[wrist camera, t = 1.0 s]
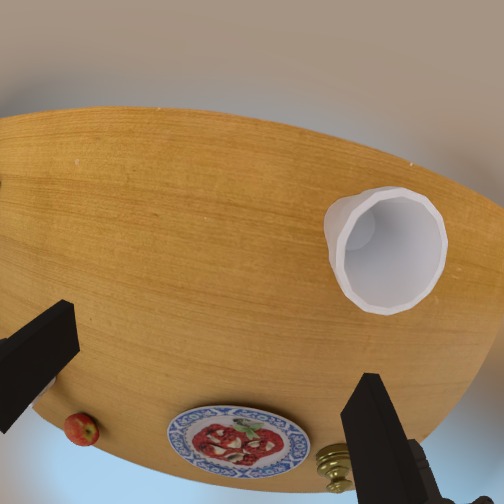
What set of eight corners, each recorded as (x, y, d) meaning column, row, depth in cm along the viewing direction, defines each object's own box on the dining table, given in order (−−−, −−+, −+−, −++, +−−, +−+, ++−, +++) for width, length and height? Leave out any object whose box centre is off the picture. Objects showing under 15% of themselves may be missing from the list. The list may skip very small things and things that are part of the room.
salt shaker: (356, 441, 40) (365, 481, 30) (346, 459, 42) (353, 496, 32) (319, 444, 40) (324, 486, 31) (312, 462, 42) (315, 500, 33)
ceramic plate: (260, 480, 46) (259, 490, 43) (153, 439, 44) (149, 449, 41) (338, 428, 39) (341, 440, 36) (205, 372, 37) (201, 385, 34)
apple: (109, 430, 45) (95, 454, 37) (88, 430, 46) (75, 451, 39) (86, 406, 43) (69, 429, 35) (67, 407, 45) (52, 428, 37)
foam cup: (300, 253, 31) (318, 302, 19) (320, 173, 29) (354, 171, 16) (373, 270, 31) (422, 321, 19) (394, 196, 29) (460, 211, 16)
